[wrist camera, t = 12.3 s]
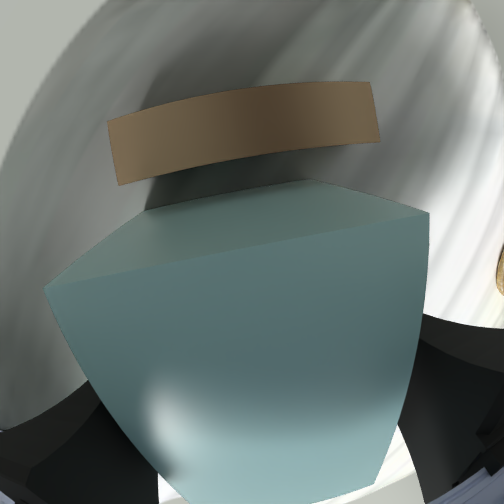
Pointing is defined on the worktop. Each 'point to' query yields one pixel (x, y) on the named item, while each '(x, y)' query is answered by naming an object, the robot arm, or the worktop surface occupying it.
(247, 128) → the strip
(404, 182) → the worktop surface
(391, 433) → the pale mint block
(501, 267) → the sprinkles bottle
